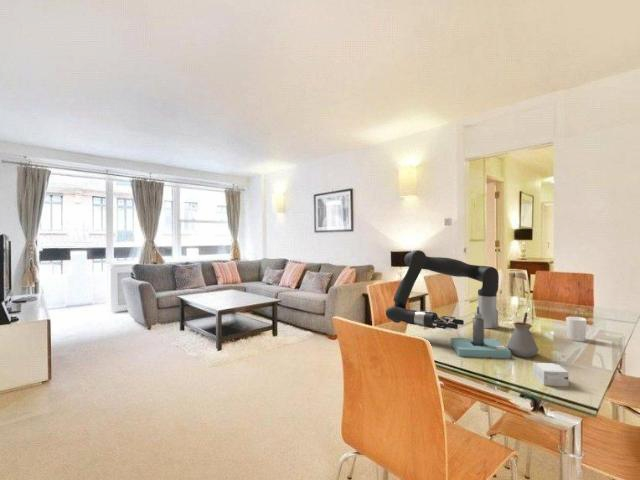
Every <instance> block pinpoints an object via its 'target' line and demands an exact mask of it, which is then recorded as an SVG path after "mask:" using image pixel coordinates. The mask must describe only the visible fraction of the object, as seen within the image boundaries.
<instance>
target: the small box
mask: <svg viewBox="0 0 640 480" xmlns="http://www.w3.org/2000/svg"><path fill="white" fill-rule="evenodd" d="M532 365H533V366H532V367H533V369H532V370H533V371H532V373H533V375H532V376H533V377H534V378H535V379H536V380H537V381H538V382H539V383H541V384H542V385H543V386H556V387H569V371H567V370H566V369H565V368H563V367H562V366H560V364H558V363H550V362H548V363H547V362H533V364H532Z"/></svg>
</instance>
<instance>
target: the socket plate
mask: <svg viewBox="0 0 640 480" xmlns="http://www.w3.org/2000/svg"><path fill="white" fill-rule="evenodd" d="M450 344H451V346H452V347H453V350H454V351H455V352H456V354H457V356H459V357H465V356H466V357H470V358H471V357H472V358H474V357H475V358H489V357H491V358H492V359H511V353H512V352H511V351H510V350H509V349H508V348H507V346H505V345H504V344H503V343H502V342H501V341H500V340H498V338H484V346H473V337H471V338H469V337H450ZM491 358H490V359H491Z"/></svg>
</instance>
